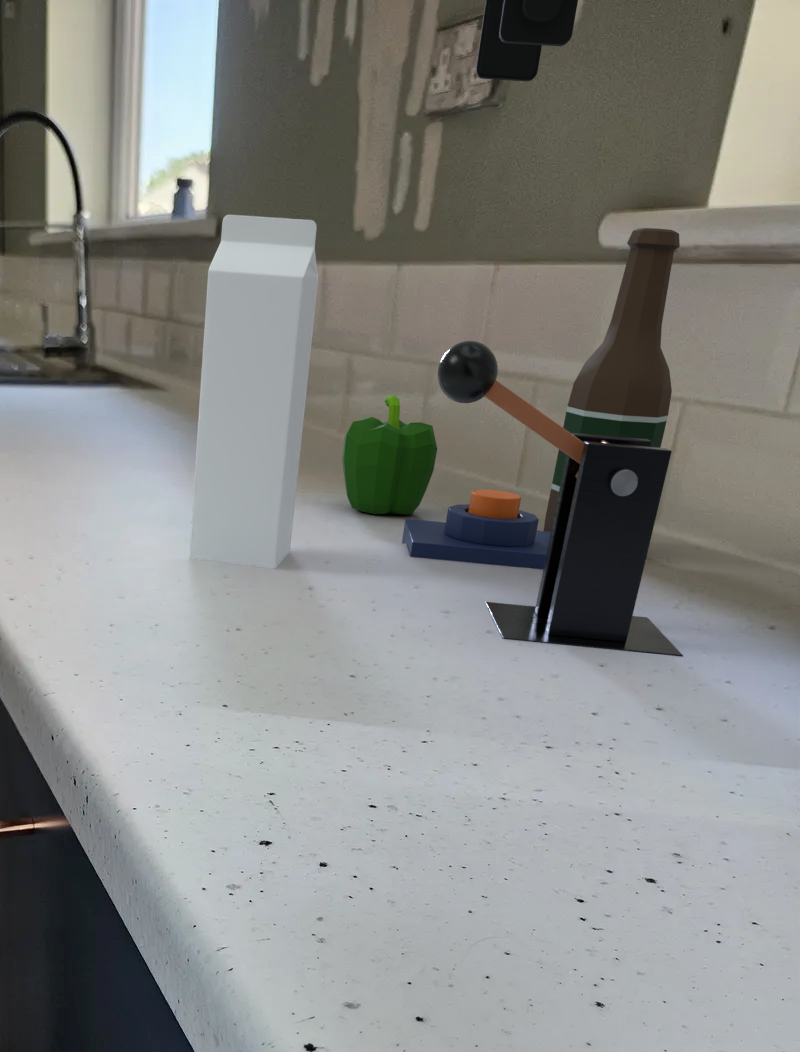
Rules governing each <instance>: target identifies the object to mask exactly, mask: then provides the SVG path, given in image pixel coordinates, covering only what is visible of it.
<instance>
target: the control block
mask: <svg viewBox="0 0 800 1052" xmlns="http://www.w3.org/2000/svg"><path fill="white" fill-rule="evenodd" d="M469 505H470V503H469V504H468V503H467V504H454V505H451V506H448V507H447V514H446V519H445V521H437V520H436V521H434V520H424V519H423V520H422V519H412V518H405V519H404V526H403V532H402V539H401V544H402V545H406V547H407V551H408V553H409V557H410V558H417V559H418V558H419V559H428V560H439V561H449V562H460V563H471V564H481V565H493V566H503V567H504V566H505V567H514V568H525V569H536V570H543V568H544V563H545V558H546V553H547V548H548V544H549V539H550V534H551V532H545V531H544V530H538V525H539V522H540V520H539V518H538V517H537V515H536V514H533V513H531V512H527V511H525V510H522V509H519V512H518V517H517V519H500V518H489V517H484V516H478V515H473V514H470V513H468V511H469Z"/></svg>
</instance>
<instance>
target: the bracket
mask: <svg viewBox="0 0 800 1052" xmlns="http://www.w3.org/2000/svg"><path fill="white" fill-rule="evenodd" d="M571 434H573V435H574V436H575V437H577V438H578V439H580V440H581V441H582V442H584V447H583V452H582V457H581V461H580V464H579V463H578V462H576V461H575V460H574V459H572V458H571V457H569V456H568V455H567V454H566V459H565V464H564V469H563V474H562V479H561V484H560V489H559V494H558V499H557V504H556V509H555V514H554V519H553V524H552V529H551V534H550V539H549V544H548V548H547V553H546V558H545V563H544V568H543V569H542V573H541V578H540V583H539V584H540V585H539V589H538V594H537V599H536V604H535V605H534V606H533V605H524V604H523V605H522V604H514V603H513V604H512V603H502V602H493V601H485V606H486V609H488V612H489V615H490V616H491V618H492V620H493V622H494V624H495V626H496V629H497V631H498V633H499V635H500V637H501V639H502V640H509V641H519V642H529V643H530V642H531V643H541V644H550V645H560V646H570V647H571V646H572V647H581V648H589V649H591V648H592V649H600V650H609V651H610V650H611V651H623V652H631V653H632V652H633V653H640V654H641V653H642V654H650V655H662V656H673V657H680V658H681V657H684V654H682V653H681V652H680V650H678V648H677V647H676V646H675V645H674V644H673V643H672V642H671V641H670V640H669V639H668V637H666V636H665V634H664V633H662V631H661V630H660V629H659V628H658V627H657V626H656V625H655V624H654V622H652V620H650V619H649V618H648V617H647V616H637V615H634V611H635V607H636V603H637V599H638V594H639V590H640V586H641V582H642V578H643V574H644V569H645V565H646V561H647V557H648V552H649V549H650V544H651V541H652V536H653V532H654V527H655V523H656V518H657V514H658V510H659V506H660V502H661V498H662V495H663V489H664V485H665V483H666V482H665V481H666V478H667V474H668V470H669V469H668V468H669V464H670V461H671V457H672V452H673V451H672V450H671V449H669V448H667V447H661V448H657V447H651V446H652V441H650V440H648V439H639V438H627V437H615V436H604V435H592V434H580V433H571ZM602 440H604V441H606V442H608V443H601V441H602ZM577 472H578V476H577V478H576V477H575V475H576V474H577Z"/></svg>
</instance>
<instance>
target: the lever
mask: <svg viewBox="0 0 800 1052" xmlns="http://www.w3.org/2000/svg"><path fill="white" fill-rule="evenodd" d="M498 371H499V367H498V361H497V358H496V356H495V354H494V352H493V351H492V350H491V349H490V348H489V347H488V346H487V345H486V344H484V343H482V342H479V341H475V340H464V341H461V342H458V343H456V344H454V345H453V346H451V347H450V348H449V349H447V351H446V352H445V353H444V354H443V355H442V358H441V359H440V362H439V365H438V368H437V382H438V385H439V387H440V390H441V391H442V392H443V394H444V395H445V396H446V397H447V398H448V399H450V400H451V401H453V402H455V403H458V404H459V403H460V404H471V403H475V402H478V401H481V399H483V398H485V399H487V400H488V401H490V402H491V403H493V404H494V405H496V406H497V407H498V408H499V409H501V410H502V411H504V412H506V413H507V414H509V415H510V416H511V417H513V418H514V419H515V420H516V421H518V422H519V423H521V424H523V426H526V427H527V428H528V429H530V430H531V431H532V432H534V433H536V435H538V436H539V437H541V438H542V439H544V440H545V441H547V442H548V443H549V444H551V445H552V446H554V447H555V448H557V449H558V451H559V450H561V451H562V452H564V453H565V454H567V455H568V456H569V457H571V458H572V459H574V460H575V461H576V462H578V463H579V464H580V461H581V457H582V452H583V447H584V442H582V441H581V440H580V439H578V438H577V437H575V436H574V435H573V434H571V433H570V432H568V431H567V430H566V429H564V428H563V426H561V425H560V424H559V423H557V422H556V421H555V420H553V419H551V418H550V417H549V416H548V415H546V414H544V413H543V412H542V411H540V409H537V408H536V407H535V406H533V405H532V404H531V403H530V402H528V401H526V400H525V399H523V398H522V397H520V396H519V395H518V394H516V393H515V392H514V391H512V390H511V389H509V388H508V387H506V386H505V385H503V384H502V383H501V382H499V380H497V378H498ZM601 443H608V442H606V441H604V440H602V441H601ZM577 476H578V472H577V474H576V475H575V477H576V478H577Z"/></svg>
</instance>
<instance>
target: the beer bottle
mask: <svg viewBox="0 0 800 1052" xmlns="http://www.w3.org/2000/svg"><path fill="white" fill-rule="evenodd" d="M680 243H681V242H680V233H678V232H677V231H676V230H673V229H668V228H656V227H655V228H653V227H652V228H651V227H639V228H636V229H633V230H632V232H631V233H630V236H629V238H628V240H627V241H626V244H627V245H628V247H629V248H630V249H629V254H628V256H627V259H626V264H625V267H624V271H623V275H622V278H621V283H620V286H619V290H618V292H617V293H618V294H617V297H616V301H615V305H614V309H613V312H612V316H611V320H610V323H609V325H608V328H607V331H606V333H605V335H604V338H603V341H602V343H601V344H600V345H599V346H598V347H597V348H596V349H595V351H594V352H592V354H591V355H590V356H589V357H588V358H587V360H586V361H585V362H584V364H583V365H582V367H581V369H580V371H579V372H578V375H577V376H576V377H575V380H574V381H573V383H572V388H571V392H570V395H569V399H568V403H567V405H566V406H567V407H566V411H565V416H564V421H563V422H564V423H563V426H562V427H563V428H564V429H566V430H567V431H568V432H570V433H580V434H592V435H604V436H615V437H627V438H639V439H648V440H650V441H652V446H651V447H657V448H662V442H663V438H664V435H665V430H666V425H667V421H668V417H669V412H670V405H671V399H672V394H673V393H672V392H673V390H672V380H671V371H670V367H669V365H668V362H667V360H666V357H665V354H664V353H663V349H662V347H661V346H662V330H663V329H662V328H663V319H664V314H665V310H666V309H665V308H666V303H667V297H668V296H667V295H668V290H669V283H670V278H671V272H672V266H673V259H674V255H675V254H674V253H675V251H676V250H677V249H679V248H680V247H681V246H680V245H681V244H680ZM565 459H566V454H565V453H564V452H562V451H561V450H559V449H558V451H557V457H556V462H555V467H554V472H553V477H552V482H551V486H550V487H551V488H550V492H549V497H548V502H547V508H546V511H545V518H544V524H543V525H544V526H543V531H545V532H551V529H552V524H553V519H554V514H555V509H556V504H557V499H558V494H559V489H560V484H561V479H562V474H563V469H564V464H565Z"/></svg>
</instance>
